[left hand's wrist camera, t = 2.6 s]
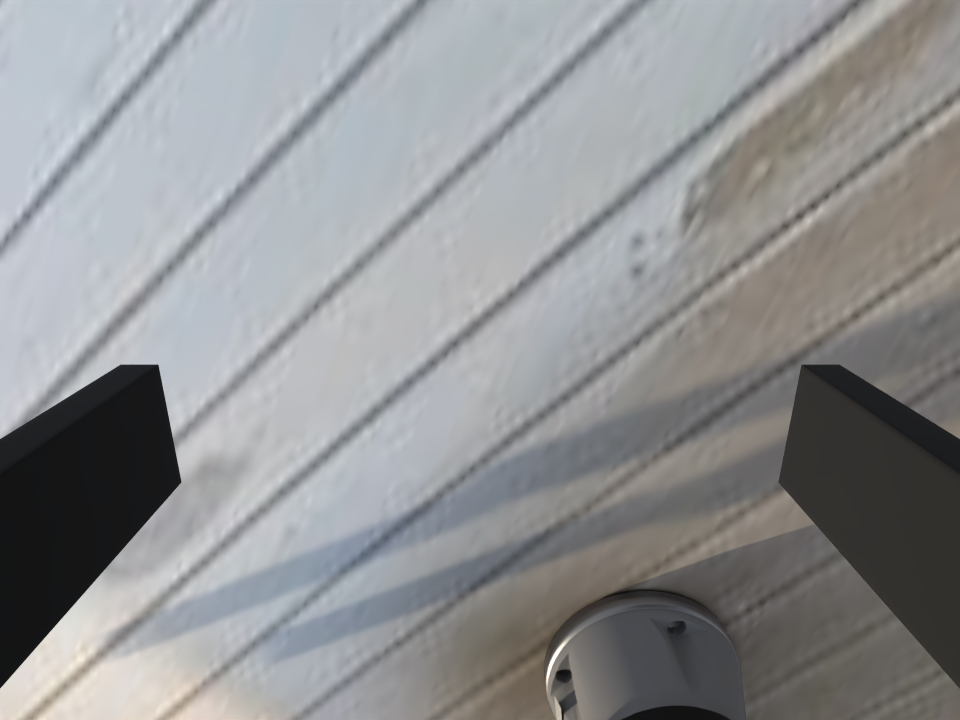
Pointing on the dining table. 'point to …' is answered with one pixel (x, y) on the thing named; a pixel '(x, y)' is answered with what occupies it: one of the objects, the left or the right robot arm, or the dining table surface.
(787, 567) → the dining table surface
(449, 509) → the dining table surface
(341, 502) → the dining table surface
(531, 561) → the dining table surface
